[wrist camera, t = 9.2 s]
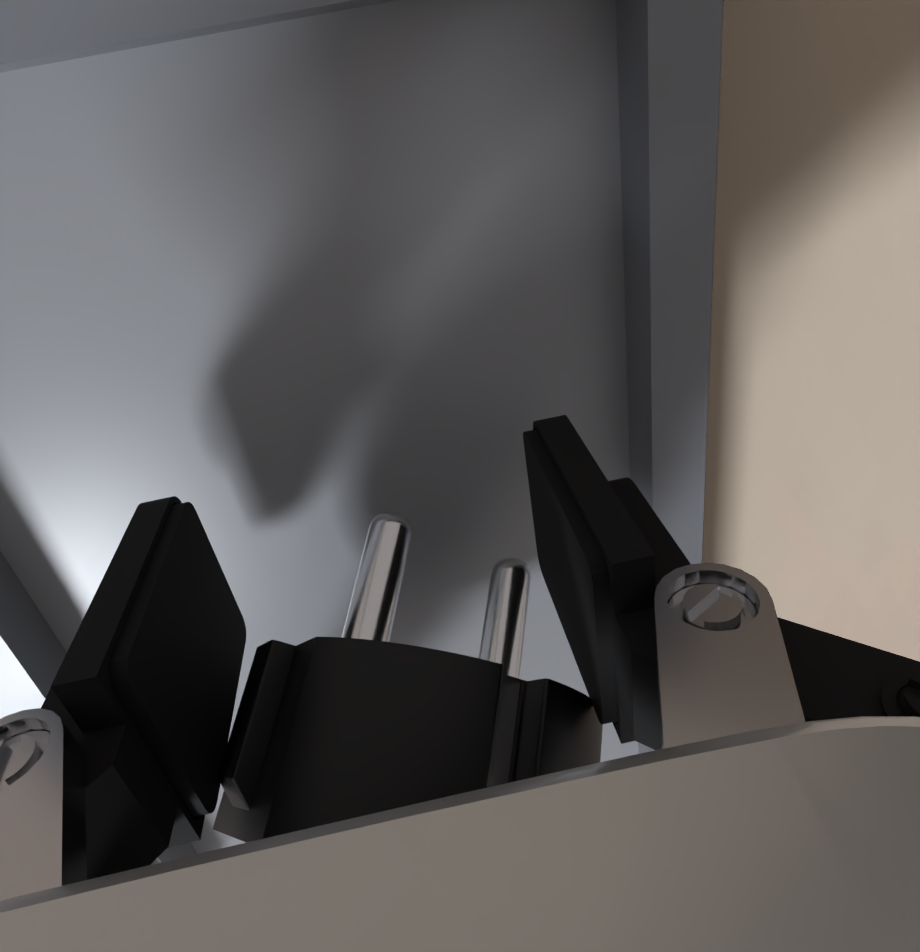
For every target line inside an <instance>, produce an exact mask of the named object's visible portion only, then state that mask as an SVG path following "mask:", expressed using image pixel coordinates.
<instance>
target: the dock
mask: <svg viewBox="0 0 920 952" xmlns="http://www.w3.org/2000/svg"><path fill="white" fill-rule="evenodd" d="M722 21H723V0H0V719H1V718H3V717H5V716H8V715H11V714H14V713H17V712H20V711H23V710H29V709H37V708H41V707H42V705H43V703H44V701H45V699H46V697H47V694H48V692H49V690H50V688H51V685H52V682H53V680H54V678H55V676H56V674H57V672H58V670H59V668H60V666H61V664H62V662H63V660H64V658H65V656H66V653H67V651H68V649H69V647H70V645H71V643H72V641H73V639H74V637H75V635H76V633H77V631H78V629H79V626H80V624H81V622H82V620H83V618H84V616H85V614H86V612H87V610H88V608H89V606H90V604H91V602H92V600H93V597H94V595H95V593H96V591H97V589H98V587H99V585H100V583H101V581H102V579H103V577H104V575H105V573H106V571H107V568H108V566H109V564H110V562H111V560H112V558H113V556H114V554H115V552H116V550H117V548H118V546H119V544H120V541H121V539H122V537H123V535H124V533H125V531H126V529H127V527H128V525H129V523H130V521H131V519H132V517H133V515H134V512H135V510H136V508H137V506H138V505H139V504H140V503H144V502H149V501H153V500H158V499H163V498H168V497H172V496H176V497H178V498H179V499H180V501H181V502H182V503H185V502H190V503H192V505H193V506H194V508H195V510H196V512H197V514H198V516H199V519H200V521H201V523H202V525H203V528H204V530H205V532H206V534H207V537H208V539H209V541H210V543H211V546H212V548H213V550H214V553H215V555H216V557H217V559H218V562H219V564H220V566H221V568H222V571H223V573H224V575H225V577H226V580H227V582H228V584H229V586H230V589H231V591H232V593H233V596H234V598H235V600H236V602H237V605H238V607H239V609H240V611H241V614H242V616H243V619H244V622H245V626H246V643H245V649H244V655H243V660H242V666H241V671H240V677H239V683H238V688H237V694H236V699H235V705H234V711H233V716H232V722H231V728H230V733H229V737H230V734H231V731H232V728H233V724H234V721H235V718H236V715H237V711H238V708H239V705H240V701H241V698H242V695H243V692H244V688H245V685H246V682H247V678H248V675H249V672H250V669H251V665H252V662H253V659H254V656H255V652H256V649H257V647H259V646H260V645H262V644H264V643H266V642H268V641H270V640H277V641H281V642H284V643H288V644H291V645H295V646H297V645H299V644H301V643H303V642H305V641H308V640H310V639H312V638H314V637H342V634H343V630H344V626H345V622H346V618H347V614H348V610H349V606H350V602H351V597H352V593H353V589H354V585H355V581H356V577H357V573H358V569H359V565H360V561H361V557H362V553H363V549H364V545H365V541H366V537H367V533H368V529H369V525H370V523H371V521H372V520H373V518H374V517H376V516H377V515H378V514H380V513H383V512H388V511H392V512H397V513H400V514H401V515H403V516H404V517H406V518H407V519H408V520H409V522H410V524H411V526H412V538H411V543H410V548H409V552H408V557H407V561H406V566H405V571H404V575H403V580H402V585H401V589H400V594H399V599H398V603H397V608H396V613H395V617H394V622H393V627H392V631H391V636H390V641H389V642H393V643H400V644H407V645H413V646H419V647H425V648H431V649H436V650H442V651H447V652H452V653H457V654H461V655H466V656H470V657H475V658H478V657H479V650H480V644H481V637H482V630H483V624H484V617H485V611H486V604H487V597H488V591H489V584H490V577H491V572H492V570H493V567H494V565H495V564H496V563H497V562H498V561H499V560H502V559H505V558H510V557H511V558H517V559H520V560H521V561H523V562H524V563H526V564H527V566H528V567H529V569H530V571H531V577H532V579H531V587H530V596H529V604H528V612H527V620H526V629H525V637H524V645H523V653H522V662H521V670H520V678H519V679H522V680H525V681H531V680H537V679H543V678H548V679H551V680H554V681H556V682H559V683H561V684H564V685H566V686H569V687H571V688H573V689H575V690H577V691H579V692H581V693H583V694H585V695H587V696H588V697H589V694H588V692H587V689H586V687H585V684H584V681H583V679H582V676H581V674H580V671H579V668H578V666H577V663H576V661H575V658H574V656H573V653H572V650H571V648H570V645H569V643H568V640H567V637H566V635H565V632H564V630H563V627H562V624H561V622H560V619H559V617H558V614H557V611H556V609H555V606H554V604H553V601H552V598H551V596H550V593H549V591H548V588H547V586H546V583H545V580H544V578H543V575H542V572H541V569H540V565H539V560H538V555H537V547H536V539H535V531H534V523H533V515H532V507H531V499H530V491H529V482H528V474H527V466H526V458H525V450H524V442H523V432H525V431H530V430H533V422H534V421H537V420H542V419H547V418H551V417H556V416H561V415H566V416H567V417H568V419H569V420H570V422H571V423H572V425H573V426H574V428H575V430H576V431H577V433H578V434H579V436H580V437H581V439H582V441H583V442H584V444H585V445H586V447H587V448H588V450H589V452H590V453H591V455H592V456H593V458H594V459H595V461H596V463H597V464H598V466H599V467H600V469H601V471H602V472H603V474H604V475H605V477H606V478H607V480H608V481H611V480H616V479H620V478H625V477H628V478H630V479H631V480H632V481H633V482H634V483H635V484H636V486H637V487H638V489H639V490H640V492H641V493H642V495H643V496H644V497H645V499H646V500H647V502H648V503H649V505H650V506H651V507H652V509H653V510H654V512H655V513H656V515H657V516H658V518H659V519H660V520H661V522H662V523H663V525H664V526H665V528H666V529H667V530H668V532H669V533H670V535H671V536H672V538H673V539H674V541H675V542H676V543H677V545H678V546H679V548H680V549H681V551H682V552H683V553H684V555H685V556H686V558H687V559H688V561H689V562H690V564H698V563H702V543H703V517H704V491H705V465H706V439H707V413H708V387H709V361H710V334H711V308H712V282H713V256H714V230H715V204H716V178H717V152H718V125H719V99H720V73H721V47H722ZM228 741H229V739H228ZM650 751H655V750H654V749H652V748H649V747H647V746H645V745H643V744H641V743H639V742H637V741H632V742H628V743H623V744H621V742H620V740H619V737H618V735H617V732H616V730H615V728H614V725H613V723H612V722H611V723H607V724H603V730H602V744H601V759H600V762H604V761H609V760H613V759H618V758H622V757H627V756H631V755H636V754H641V753H645V752H650ZM223 792H224V789H223V787H222V785H221V784H220V789H219V795H218V801H217V805H216V808H215V810H214V812H212V813H211V814H206V815H205V819H204V824H203V829H202V834H201V840H199V841H195V842H190V843H186V844H182V845H177V846H173V847H169V848H167V849H166V850H165V851H164V852H163V853H162V854H161V855H160V856H159V860H160V863H161V862H166V861H170V860H174V859H178V858H183V857H187V856H191V855H195V854H200V853H204V852H208V851H212V850H217V849H221V848H225V847H230V846H234V845H238V844H243V843H246V842H244V841H241V840H239V839H236V838H234V837H231V836H228V835H226V834H223V833H221V832H218V831H216V830H213V826H214V822H215V819H216V816H217V812H218V809H219V806H220V802H221V799H222V796H223Z"/></svg>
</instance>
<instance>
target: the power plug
mask: <svg viewBox="0 0 920 952" xmlns="http://www.w3.org/2000/svg"><path fill="white" fill-rule="evenodd" d="M411 538H412V526H411V524H410V522H409V520H408V519H407V518H406V517H404V516H403V515H401V514H400V513H397V512H392V511H388V512H383V513H380V514H378V515H377V516H376V517H374V518H373V520H372V521H371V523H370V525H369V529H368V533H367V537H366V541H365V545H364V549H363V553H362V557H361V561H360V565H359V569H358V573H357V577H356V581H355V585H354V589H353V593H352V597H351V602H350V606H349V610H348V614H347V618H346V622H345V626H344V630H343V634H342V637H314V638H312V639H310V640H308V641H305V642H303V643H301V644H299V645H297V646H295V645H291V644H288V643H284V642H281V641H277V640H270V641H268V642H266V643H264V644H262V645H260V646H259V647H257V649H256V652H255V656H254V659H253V662H252V665H251V669H250V672H249V675H248V678H247V682H246V685H245V688H244V692H243V695H242V698H241V701H240V705H239V708H238V711H237V715H236V718H235V721H234V724H233V728H232V731H231V734H230V737H229V741H228V744H227V747H226V751H225V754H224V757H223V760H222V764H221V767H220V770H219V773H218V779H219V781H220V783H221V785H222V787H223V789H224V792H223V796H222V799H221V802H220V806H219V809H218V812H217V816H216V819H215V822H214V826H213V830H216V831H218V832H221V833H223V834H226V835H228V836H231V837H234V838H236V839H239V840H241V841H244V842H246V843H247V842H251V841H256V840H260V839H264V838H269V837H273V836H277V835H282V834H286V833H290V832H295V831H299V830H304V829H308V828H312V827H317V826H321V825H325V824H330V823H334V822H338V821H343V820H347V819H351V818H356V817H360V816H365V815H369V814H373V813H378V812H382V811H386V810H391V809H395V808H400V807H404V806H408V805H413V804H417V803H421V802H426V801H430V800H435V799H439V798H443V797H448V796H452V795H457V794H461V793H466V792H470V791H475V790H479V789H483V788H488V787H492V786H497V785H501V784H506V783H510V782H515V781H519V780H524V779H528V778H533V777H537V776H542V775H546V774H551V773H555V772H560V771H564V770H568V769H573V768H577V767H582V766H586V765H591V764H595V763H600V759H601V744H602V730H603V724H600V722H599V720H598V718H597V715H596V713H595V710H594V707H593V704H592V698H590V697H588V696H587V695H585V694H583V693H581V692H579V691H577V690H575V689H573V688H571V687H569V686H566V685H564V684H561V683H559V682H556V681H554V680H551V679H548V678H543V679H537V680H531V681H525V680H522V679H519V678H520V670H521V662H522V653H523V645H524V637H525V629H526V620H527V612H528V604H529V596H530V587H531V579H532V577H531V571H530V569H529V567H528V566H527V564H526V563H524V562H523V561H521V560H520V559H517V558H511V557H510V558H505V559H502V560H499V561H498V562H497V563H496V564H495V565H494V567H493V570H492V572H491V577H490V584H489V591H488V597H487V604H486V611H485V617H484V624H483V630H482V637H481V644H480V650H479V657H478V658H475V657H470V656H466V655H461V654H457V653H452V652H447V651H442V650H436V649H431V648H425V647H419V646H413V645H407V644H400V643H393V642H389V641H390V636H391V631H392V627H393V622H394V617H395V613H396V608H397V603H398V599H399V594H400V589H401V585H402V580H403V575H404V571H405V566H406V561H407V557H408V552H409V548H410V543H411Z"/></svg>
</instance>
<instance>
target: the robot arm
mask: <svg viewBox="0 0 920 952" xmlns="http://www.w3.org/2000/svg"><path fill="white" fill-rule="evenodd" d="M523 442H524V450H525V458H526V466H527V474H528V482H529V491H530V499H531V507H532V515H533V523H534V531H535V539H536V547H537V555H538V560H539V565H540V569H541V572H542V575H543V578H544V580H545V583H546V586H547V588H548V591H549V593H550V596H551V598H552V601H553V604H554V606H555V609H556V611H557V614H558V617H559V619H560V622H561V624H562V627H563V630H564V632H565V635H566V637H567V640H568V643H569V645H570V648H571V650H572V653H573V656H574V658H575V661H576V663H577V666H578V668H579V671H580V674H581V676H582V679H583V681H584V684H585V687H586V689H587V692H588V694H589V697H590V698H592V704H593V707H594V710H595V713H596V715H597V718H598V720H599V722H600V724H607V723H611V722H612V723H613V725H614V728H615V730H616V732H617V735H618V737H619V740H620V742H621V744H623V743H628V742H632V741H637V742H639V743H641V744H643V745H645V746H647V747H649V748H652V749H654V750H655V751H650V752H645V753H641V754H636V755H631V756H627V757H622V758H618V759H613V760H609V761H604V762H600V763H595V764H591V765H586V766H582V767H577V768H573V769H568V770H564V771H560V772H555V773H551V774H546V775H542V776H537V777H533V778H528V779H524V780H519V781H515V782H510V783H506V784H501V785H497V786H492V787H488V788H483V789H479V790H475V791H470V792H466V793H461V794H457V795H452V796H448V797H443V798H439V799H435V800H430V801H426V802H421V803H417V804H413V805H408V806H404V807H400V808H395V809H391V810H386V811H382V812H378V813H373V814H369V815H365V816H360V817H356V818H351V819H347V820H343V821H338V822H334V823H330V824H325V825H321V826H317V827H312V828H308V829H304V830H299V831H295V832H290V833H286V834H282V835H277V836H273V837H269V838H264V839H260V840H256V841H251V842H247V843H243V844H238V845H234V846H230V847H225V848H221V849H217V850H212V851H208V852H204V853H200V854H195V855H191V856H187V857H183V858H178V859H174V860H170V861H166V862H161V863H160V860H159V856H160V855H161V854H162V853H163V852H164V851H165V850H166V849H167V848H169V847H173V846H177V845H182V844H186V843H190V842H195V841H199V840H201V834H202V829H203V824H204V819H205V815H206V814H211V813H212V812H214V810H215V808H216V805H217V801H218V795H219V789H220V784H221V783H220V781H219V779H218V773H219V770H220V767H221V764H222V760H223V757H224V754H225V751H226V747H227V744H228V739H229V733H230V728H231V722H232V716H233V711H234V705H235V699H236V694H237V688H238V683H239V677H240V671H241V666H242V660H243V655H244V649H245V643H246V626H245V622H244V619H243V616H242V614H241V611H240V609H239V607H238V605H237V602H236V600H235V598H234V596H233V593H232V591H231V589H230V586H229V584H228V582H227V580H226V577H225V575H224V573H223V571H222V568H221V566H220V564H219V562H218V559H217V557H216V555H215V553H214V550H213V548H212V546H211V543H210V541H209V539H208V537H207V534H206V532H205V530H204V528H203V525H202V523H201V521H200V519H199V516H198V514H197V512H196V510H195V508H194V506H193V505H192V503H190V502H185V503H182V502H181V501H180V499H179V498H178V497H176V496H172V497H168V498H163V499H158V500H153V501H149V502H144V503H140V504H139V505H138V506H137V508H136V510H135V512H134V515H133V517H132V519H131V521H130V523H129V525H128V527H127V529H126V531H125V533H124V535H123V537H122V539H121V541H120V544H119V546H118V548H117V550H116V552H115V554H114V556H113V558H112V560H111V562H110V564H109V566H108V568H107V571H106V573H105V575H104V577H103V579H102V581H101V583H100V585H99V587H98V589H97V591H96V593H95V595H94V597H93V600H92V602H91V604H90V606H89V608H88V610H87V612H86V614H85V616H84V618H83V620H82V622H81V624H80V626H79V629H78V631H77V633H76V635H75V637H74V639H73V641H72V643H71V645H70V647H69V649H68V651H67V653H66V656H65V658H64V660H63V662H62V664H61V666H60V668H59V670H58V672H57V674H56V676H55V678H54V680H53V682H52V685H51V688H50V690H49V692H48V694H47V697H46V699H45V701H44V703H43V705H42V707H41V708H37V709H29V710H23V711H20V712H17V713H14V714H11V715H8V716H5V717H3V718H1V719H0V952H920V662H919V661H915V660H912V659H909V658H906V657H903V656H899V655H896V654H893V653H890V652H887V651H883V650H880V649H877V648H874V647H871V646H867V645H864V644H861V643H858V642H855V641H851V640H848V639H845V638H842V637H839V636H835V635H832V634H829V633H826V632H823V631H820V630H816V629H813V628H810V627H807V626H804V625H800V624H797V623H794V622H791V621H788V620H784V619H781V618H778V617H777V614H776V610H775V607H774V603H773V600H772V598H771V596H770V594H769V592H768V590H767V588H766V587H765V586H764V585H763V584H762V583H761V582H760V581H759V580H758V579H757V578H755V577H754V576H752V575H750V574H748V573H746V572H744V571H743V570H741V569H738V568H734V567H731V566H727V565H724V564H714V563H698V564H690V562H689V561H688V559H687V558H686V556H685V555H684V553H683V552H682V551H681V549H680V548H679V546H678V545H677V543H676V542H675V541H674V539H673V538H672V536H671V535H670V533H669V532H668V530H667V529H666V528H665V526H664V525H663V523H662V522H661V520H660V519H659V518H658V516H657V515H656V513H655V512H654V510H653V509H652V507H651V506H650V505H649V503H648V502H647V500H646V499H645V497H644V496H643V495H642V493H641V492H640V490H639V489H638V487H637V486H636V484H635V483H634V482H633V481H632V480H631V479H630V478H628V477H625V478H620V479H616V480H611V481H608V480H607V478H606V477H605V475H604V474H603V472H602V471H601V469H600V467H599V466H598V464H597V463H596V461H595V459H594V458H593V456H592V455H591V453H590V452H589V450H588V448H587V447H586V445H585V444H584V442H583V441H582V439H581V437H580V436H579V434H578V433H577V431H576V430H575V428H574V426H573V425H572V423H571V422H570V420H569V419H568V417H567V416H566V415H561V416H556V417H551V418H547V419H542V420H537V421H534V422H533V430H530V431H525V432H523Z"/></svg>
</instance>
